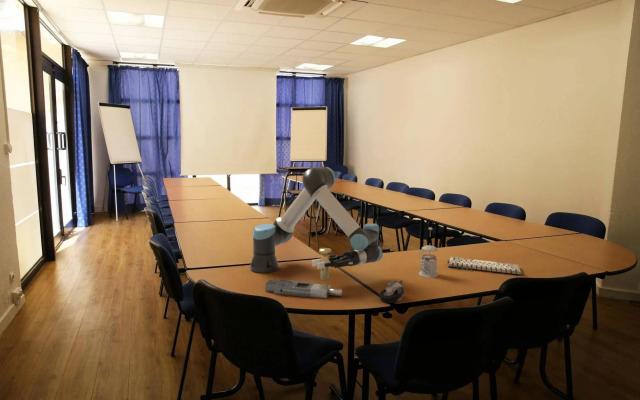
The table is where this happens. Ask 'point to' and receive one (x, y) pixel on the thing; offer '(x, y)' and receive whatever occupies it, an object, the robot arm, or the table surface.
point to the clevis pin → (324, 257)
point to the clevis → (301, 289)
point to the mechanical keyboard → (483, 266)
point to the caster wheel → (392, 292)
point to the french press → (428, 270)
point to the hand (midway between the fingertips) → (315, 264)
